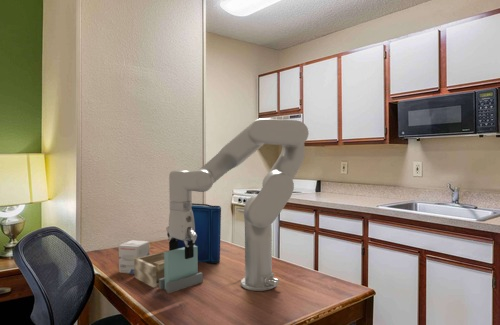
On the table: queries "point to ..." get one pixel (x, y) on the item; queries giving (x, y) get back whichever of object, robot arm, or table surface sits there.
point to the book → (206, 232)
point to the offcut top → (159, 266)
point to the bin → (147, 268)
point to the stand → (181, 282)
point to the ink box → (131, 254)
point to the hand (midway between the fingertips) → (181, 255)
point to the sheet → (179, 264)
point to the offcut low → (159, 276)
